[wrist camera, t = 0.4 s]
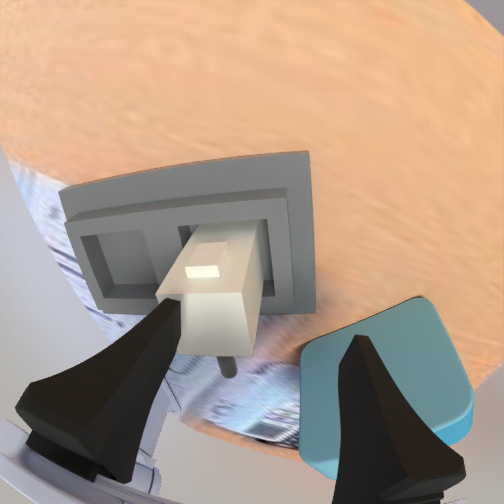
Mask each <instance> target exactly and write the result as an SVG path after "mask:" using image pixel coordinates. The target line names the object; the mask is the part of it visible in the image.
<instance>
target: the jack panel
mask: <svg viewBox="0 0 504 504" xmlns="http://www.w3.org/2000/svg"><path fill="white" fill-rule="evenodd" d="M58 193H59V196H60V200H61V203H62V206H63V209H64V213H65V216H66V219H67V221H66V222H65V223H64V225H65V228H66V231H67V234H68V237H69V239H70V242H71V245H72V248H73V250H74V253H75V256H76V258H77V261H78V263H79V266H80V268H81V271H82V273H83V276H84V278H85V280H86V283H87V285H88V288H89V290H90V292H91V294H92V297H93V299H94V301H95V303H96V305H97V308H98V310H103V313H108V314H131V315H148V314H149V313H150V312H151V311H152V310H153V309H155V308H156V307H157V306H158V305H159V303H158V300H157V297H156V292H157V291H158V289H159V287H160V286H161V284H162V282H163V281H164V279H165V277H166V276H167V274H168V272H169V271H170V269H171V268H172V266H173V264H174V263H175V261H176V259H177V258H178V256H179V255H180V253H181V251H182V250H183V248H184V247H185V245H186V244H187V242H188V240H189V239H190V237H191V236H192V234H193V233H194V231H195V230H196V228H197V226H198V225H199V224H208V223H220V222H232V221H246V220H259V225H260V233H261V241H262V249H263V258H264V266H265V276H264V283H263V291H262V298H261V305H260V312H259V315H279V314H302V313H315V250H314V223H313V203H312V186H311V171H310V157H309V152H308V151H294V152H280V153H268V154H257V155H247V156H238V157H229V158H221V159H213V160H206V161H198V162H191V163H185V164H178V165H172V166H166V167H160V168H154V169H149V170H143V171H138V172H133V173H128V174H123V175H118V176H113V177H108V178H104V179H99V180H95V181H91V182H86V183H82V184H78V185H74V186H70V187H66V188H64V189H62V190H60V191H59V192H58Z"/></svg>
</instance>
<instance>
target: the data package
mask: <svg viewBox="0 0 504 504" xmlns="http://www.w3.org/2000/svg"><path fill="white" fill-rule="evenodd" d="M355 334H358V335H365V336H369V338H370V340H371V341H372V343H373V345H374V347H375V349H376V350H377V352H378V354H379V356H380V358H381V359H382V361H383V363H384V365H385V367H386V368H387V370H388V372H389V373H390V375H391V377H392V379H393V380H394V382H395V383H396V385H397V387H398V388H399V390H400V391H401V393H402V394H403V396H404V397H405V399H406V400H407V401H408V403H409V404H410V405H411V407H412V408H413V409H414V411H415V412H416V413H417V414H418V416H419V417H420V418H421V419H422V420H423V421H424V423H425V424H426V425H427V426H428V427H429V428H430V429H431V430H432V431H433V432H434V433H435V434H436V435H437V436H438V437H439V438H440V439H441V440H442V441H443V442H444V443H445V444H447V445H448V446H450V445H452V444H455V443H457V442H458V441H460V440H461V439H463V438H464V437H465V436H466V435H467V434H468V432H469V430H470V428H471V425H472V418H473V406H474V392H473V389H472V386H471V384H470V381H469V379H468V376H467V374H466V372H465V369H464V367H463V365H462V363H461V360H460V358H459V356H458V354H457V352H456V349H455V347H454V345H453V343H452V341H451V339H450V337H449V335H448V333H447V331H446V329H445V327H444V325H443V323H442V321H441V319H440V317H439V315H438V313H437V311H436V309H435V307H434V306H433V304H432V303H431V301H429V300H428V299H425V298H413V299H410V300H408V301H405V302H403V303H401V304H399V305H397V306H395V307H392V308H390V309H388V310H386V311H383V312H381V313H379V314H377V315H374V316H372V317H370V318H367V319H365V320H362V321H360V322H358V323H355V324H353V325H350V326H348V327H345V328H343V329H340V330H338V331H335V332H333V333H330V334H328V335H325V336H322V337H320V338H317V339H315V340H313V341H311V342H310V343H308V344H307V345H306V346H305V347H304V349H303V350H302V352H301V355H300V422H299V454H300V456H301V458H302V459H303V461H304V462H306V463H307V464H308V465H310V466H311V467H313V468H314V469H316V470H317V471H319V472H320V473H321V474H323V475H324V476H326V477H327V478H329V479H333V480H336V479H337V472H338V464H339V454H340V441H341V428H340V412H339V397H338V369H339V363H340V361H341V360H342V358H343V356H344V354H345V352H346V350H347V349H348V347H349V345H350V343H351V341H352V339H353V337H354V335H355Z"/></svg>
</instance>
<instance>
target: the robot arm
mask: <svg viewBox="0 0 504 504" xmlns="http://www.w3.org/2000/svg"><path fill="white" fill-rule="evenodd" d="M180 337H181V301H178V300H174V299H170V298H165V299H164V300H163V301H162V302H161V303H160V304H159V305H158V306H157V307H156V308H155V309H153V310H152V311H151V312H150V313H149V314H148V315H147V316H146V317H145V318H144V319H142V320H141V321H140V322H139V323H138V324H137V325H135V326H134V327H133V328H132V329H131V330H130V331H128V332H127V333H126V334H124V335H123V336H122V337H121V338H119V339H118V340H117V341H115V342H114V343H113V344H111V345H110V346H108V347H107V348H105V349H104V350H102V351H101V352H99V353H98V354H96V355H94V356H93V357H91V358H89V359H87V360H86V361H84V362H82V363H80V364H78V365H76V366H74V367H72V368H70V369H68V370H65V371H63V372H61V373H59V374H56V375H53V376H51V377H48V378H45V379H42V380H39V381H35V382H32V383H30V384H29V386H28V387H27V388H26V390H25V391H24V393H23V395H22V396H21V398H20V400H19V401H18V403H17V405H16V406H15V409H16V412H17V413H18V414H19V416H20V417H21V418H22V419H23V420H24V421H25V422H26V423H27V425H28V426H29V427H30V428H31V429H32V432H31V434H30V435H29V434H28V433H27V432H25V431H24V430H23V429H21V428H20V427H18V426H17V425H15V424H14V423H12V422H11V421H10V420H8V419H7V418H4V419H3V421H2V422H1V424H0V477H1V478H2V479H4V480H5V481H6V482H7V483H9V484H10V485H11V486H13V487H14V488H15V489H17V490H18V491H19V492H21V493H22V494H23V495H25V496H26V497H27V498H29V499H30V500H32V501H33V502H35V503H36V504H181V503H178V502H174V501H171V500H167V499H164V498H161V497H158V494H159V491H160V487H161V475H160V473H159V470H158V469H157V468H156V467H154V464H155V459H153V458H152V456H153V453H154V449H155V446H156V443H157V441H158V437H159V435H160V432H161V429H162V425H163V423H164V420H165V417H166V414H167V412H171V413H181V408H180V406H179V405H178V403H177V401H176V399H175V397H174V395H173V394H172V392H171V390H170V388H169V386H168V384H167V382H166V380H165V378H164V377H165V375H166V373H167V371H168V369H169V366H170V364H171V362H172V360H173V358H174V356H175V353H176V350H177V347H178V344H179V340H180ZM338 397H339V412H340V428H341V441H340V454H339V464H338V472H337V479H336V485H335V491H334V496H333V501H332V504H440V500H441V499H443V498H444V493H443V491H444V490H447V489H449V488H450V487H452V486H454V485H456V484H458V483H459V482H461V481H462V480H463V479H464V478H465V477H466V471H465V465H464V460H463V457H462V456H460V455H459V454H458V453H456V452H455V451H454V450H453V449H451V448H450V447H449V446H448V445H447V444H445V443H444V442H443V441H442V440H441V439H440V438H439V437H438V436H437V435H436V434H435V433H434V432H433V431H432V430H431V429H430V428H429V427H428V426H427V425H426V424H425V423H424V421H423V420H422V419H421V418H420V417H419V416H418V414H417V413H416V412H415V411H414V409H413V408H412V407H411V405H410V404H409V403H408V401H407V400H406V399H405V397H404V396H403V394H402V393H401V391H400V390H399V388H398V387H397V385H396V383H395V382H394V380H393V379H392V377H391V375H390V373H389V372H388V370H387V368H386V367H385V365H384V363H383V361H382V359H381V358H380V356H379V354H378V352H377V350H376V349H375V347H374V345H373V343H372V341H371V340H370V338H369V336H365V335H358V334H355V335H354V337H353V339H352V341H351V343H350V345H349V347H348V349H347V350H346V352H345V354H344V356H343V358H342V360H341V361H340V363H339V369H338ZM445 504H467V500H466V498H463V499H459V500H455V501H452V502H448V503H445Z"/></svg>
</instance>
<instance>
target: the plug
mask: <svg viewBox="0 0 504 504" xmlns="http://www.w3.org/2000/svg"><path fill="white" fill-rule="evenodd" d="M264 276H265V266H264V258H263V249H262V241H261V233H260V225H259V220H246V221H232V222H220V223H208V224H199V225H198V226H197V228H196V230H195V231H194V233H193V234H192V236H191V237H190V239H189V240H188V242H187V244H186V245H185V247H184V248H183V250H182V251H181V253H180V255H179V256H178V258H177V259H176V261H175V263H174V264H173V266H172V268H171V269H170V271H169V272H168V274H167V276H166V277H165V279H164V281H163V282H162V284H161V286H160V287H159V289H158V291H157V292H156V297H157V300H158V303H159V304H160V303H161V302H162V301H163V300H164V299H165V298H170V299H174V300H178V301H181V337H180V340H179V344H178V347H177V352H178V354H180V355H200V356H216V357H217V360H218V364H219V367H220V370H221V373H222V375H223V376H224V377H225V378H233V377H235V376H236V374H237V366H236V362H235V358H234V356H242V357H253V353H254V347H255V340H256V333H257V326H258V319H259V312H260V305H261V298H262V291H263V283H264Z"/></svg>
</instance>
